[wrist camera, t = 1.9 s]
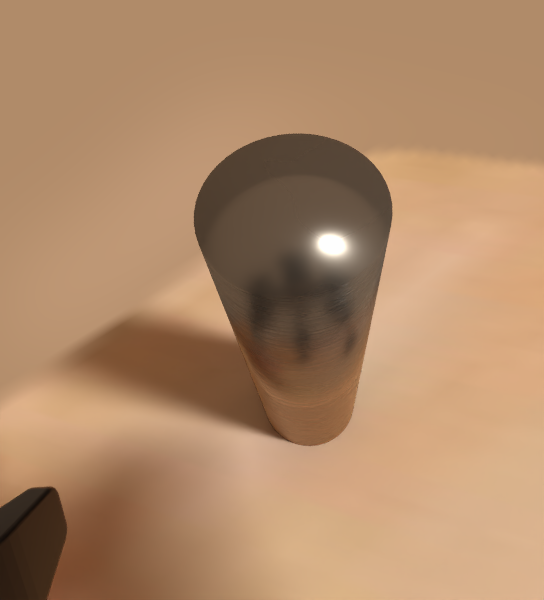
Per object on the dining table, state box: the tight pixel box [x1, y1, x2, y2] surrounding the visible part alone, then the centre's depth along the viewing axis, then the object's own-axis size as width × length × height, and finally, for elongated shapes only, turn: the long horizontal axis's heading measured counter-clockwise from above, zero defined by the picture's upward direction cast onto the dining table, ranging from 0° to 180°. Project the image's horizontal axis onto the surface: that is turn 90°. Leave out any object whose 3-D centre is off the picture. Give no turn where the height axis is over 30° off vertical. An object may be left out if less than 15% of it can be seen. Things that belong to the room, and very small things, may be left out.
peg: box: [194, 134, 392, 446], centre depth 15 cm, size 4×4×13 cm
